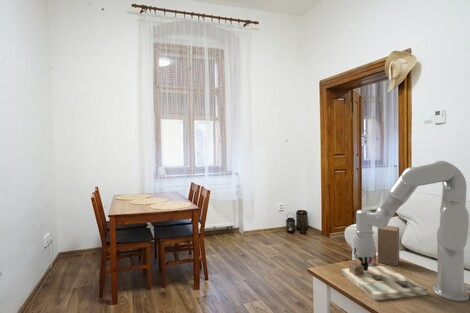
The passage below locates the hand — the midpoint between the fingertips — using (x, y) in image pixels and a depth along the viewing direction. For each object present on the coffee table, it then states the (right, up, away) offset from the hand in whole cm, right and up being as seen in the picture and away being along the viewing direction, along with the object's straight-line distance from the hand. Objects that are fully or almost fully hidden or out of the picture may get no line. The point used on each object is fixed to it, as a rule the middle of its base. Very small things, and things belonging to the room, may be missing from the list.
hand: (364, 269), depth 148 cm
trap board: (+4, -4, -7) cm, 9 cm away
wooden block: (+23, -3, +20) cm, 31 cm away
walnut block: (-5, -1, -1) cm, 5 cm away
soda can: (+10, -4, +16) cm, 19 cm away
